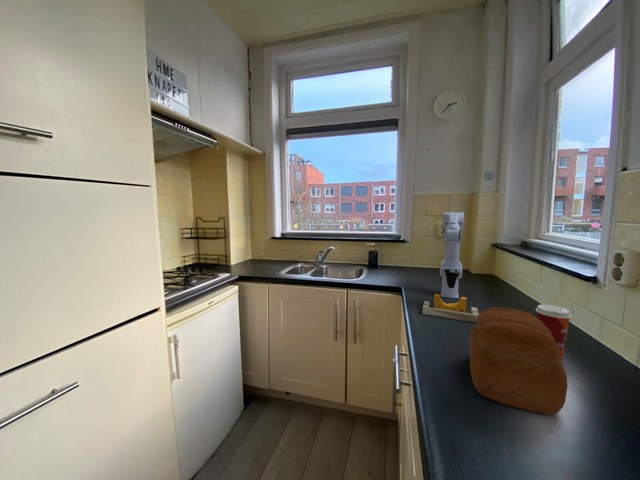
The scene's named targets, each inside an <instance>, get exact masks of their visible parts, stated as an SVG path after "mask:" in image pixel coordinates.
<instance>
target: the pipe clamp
mask: <svg viewBox="0 0 640 480" xmlns="http://www.w3.org/2000/svg"><path fill="white" fill-rule="evenodd" d="M433 297H434V298H433V299H434V300H433V308H437V309H444V310H450V311H457V312H464V313H467V312H466V311H467V297H465V296H461V297H460V298H459V301H458V302H453V303H449V302H448V303H446V302H445V301H443V300H442V298H441V293H434V296H433Z"/></svg>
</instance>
